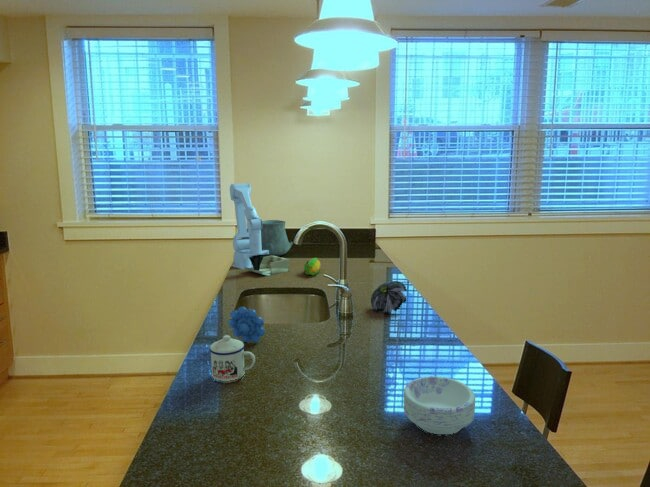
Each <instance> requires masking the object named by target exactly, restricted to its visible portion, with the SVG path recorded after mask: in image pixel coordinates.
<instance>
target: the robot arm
mask: <svg viewBox="0 0 650 487" xmlns="http://www.w3.org/2000/svg"><path fill="white" fill-rule="evenodd" d="M251 194H252V186H251V184H250V183H249V182H246V183H245V182H244V183H231V184H230V186H229V196H230V200H231V201H232V202H233V204H234V210H235V219H236V226H237V228H236V229H237V233H236V234H235V235H233V237H232V247H233V250H234V252H233V266H232V267H233V268H236V269H237V268H238V269H240V270H245V269H244V268H245V267H247V268H250V269H254V270H257V271H259V269H260V264H261V262H262V260H263V257H264V256H266V255H265V254H269V250H262V245H261V230H262V228H263V223H262V221H263V220H262V218H261V217H260V216H258V213H257V209H256V208H255V206H253V203H252V200H251Z"/></svg>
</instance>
